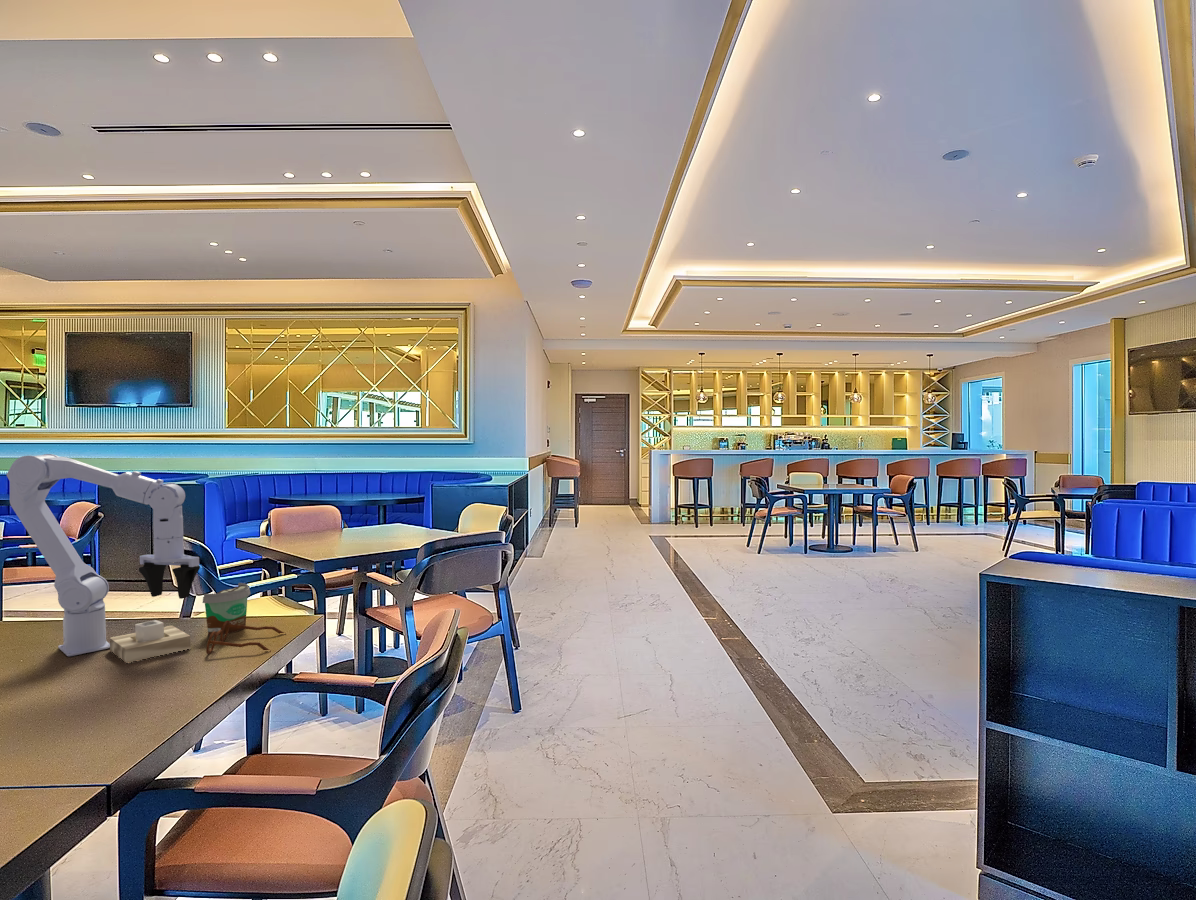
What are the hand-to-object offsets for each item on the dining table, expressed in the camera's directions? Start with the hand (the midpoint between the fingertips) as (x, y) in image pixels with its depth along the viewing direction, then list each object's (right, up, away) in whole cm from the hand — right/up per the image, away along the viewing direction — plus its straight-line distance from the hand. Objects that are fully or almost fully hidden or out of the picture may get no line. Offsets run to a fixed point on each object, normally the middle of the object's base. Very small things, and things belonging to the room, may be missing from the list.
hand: (170, 596), depth 154 cm
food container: (+9, -10, +10) cm, 17 cm away
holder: (-1, -11, -5) cm, 12 cm away
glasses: (+18, -11, -2) cm, 22 cm away
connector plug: (-1, -11, -5) cm, 12 cm away
